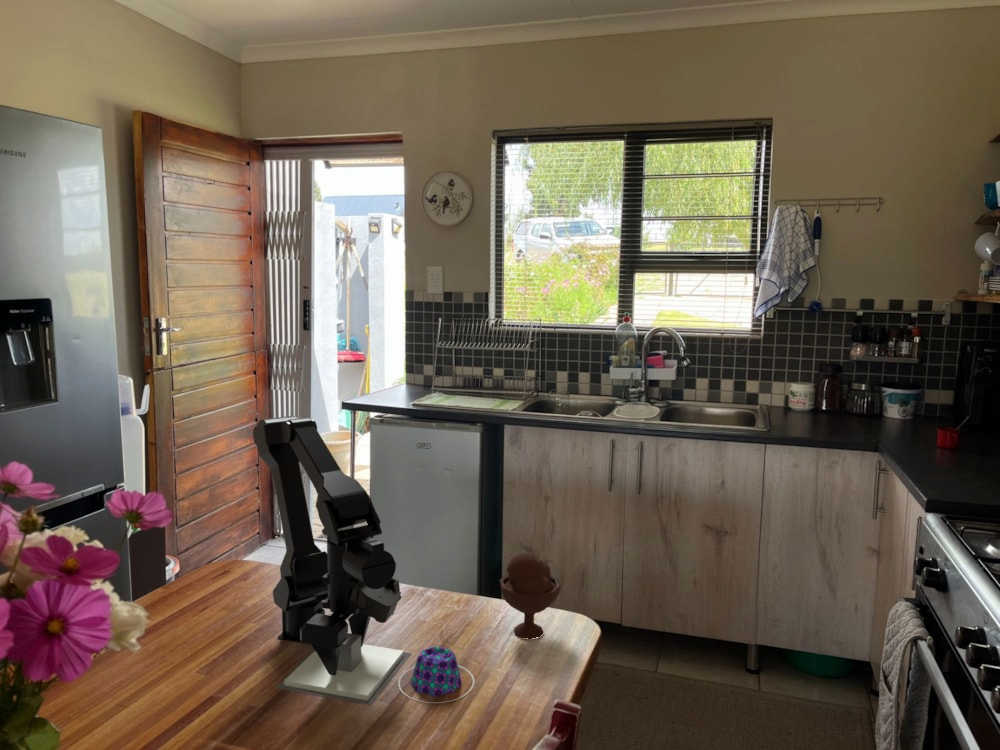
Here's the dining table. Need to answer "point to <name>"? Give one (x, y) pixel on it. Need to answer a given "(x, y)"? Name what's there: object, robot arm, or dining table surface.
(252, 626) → the dining table surface
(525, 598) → the ice cream bowl
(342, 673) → the lid
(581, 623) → the dining table surface
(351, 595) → the robot arm
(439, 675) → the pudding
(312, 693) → the mat
